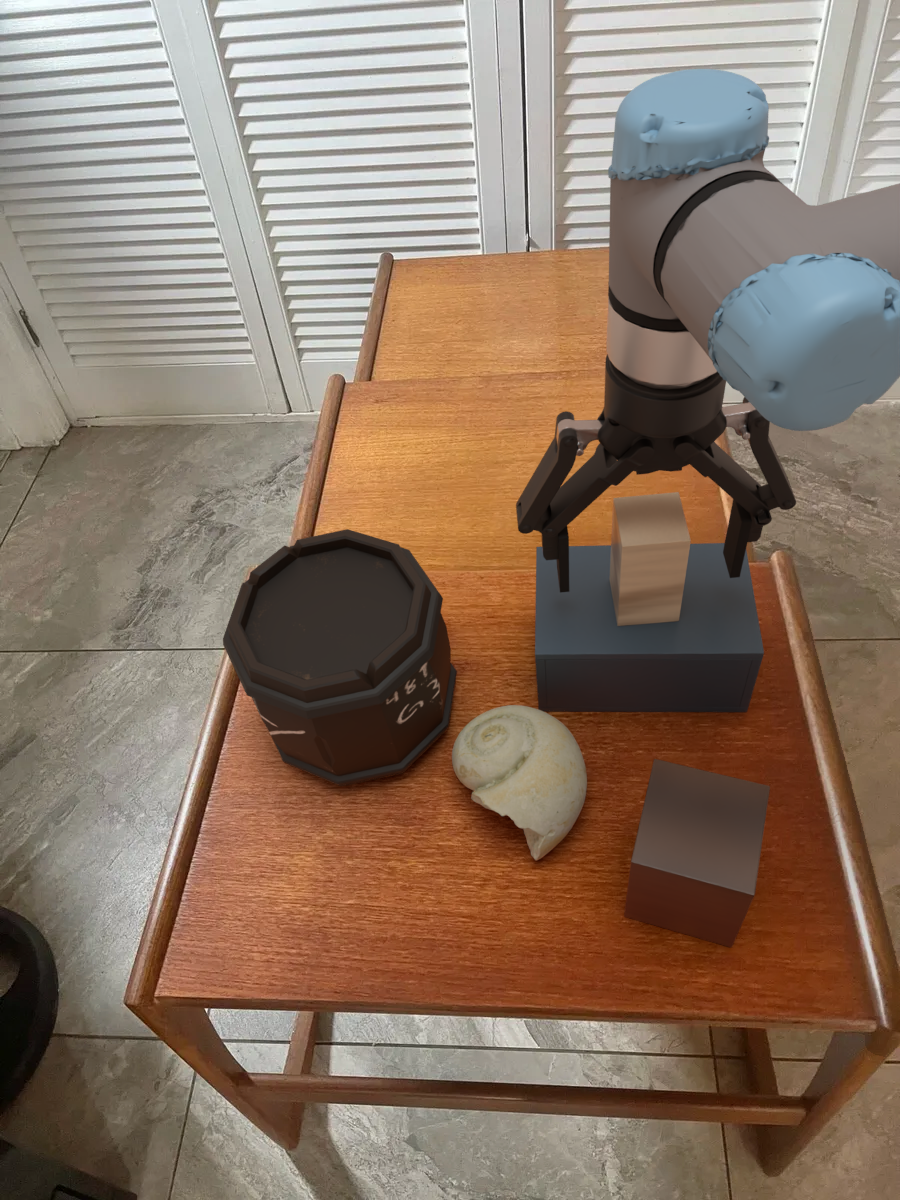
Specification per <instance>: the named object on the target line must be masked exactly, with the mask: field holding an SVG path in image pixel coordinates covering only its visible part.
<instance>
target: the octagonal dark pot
mask: <svg viewBox="0 0 900 1200" xmlns="http://www.w3.org/2000/svg"><path fill="white" fill-rule="evenodd" d="M443 601H444V597H443V596H442V595H441V593H440V591H439V590H438V588H437V587H436V586H435V584H434V583H433V581H432V580H431V579H430V577H429V576H428V574H427V573H426V572H425V570H424V568H422V566H421V565H420V563H419V562H418V560H417V559H416V558H415V556H414V554H413V553H412V552H411V550H410V549H407V548H404V547H401V546H400V544H399V543H395V542H393V541H392V542H391V541H389V540H385V539H382V538H378V537H375V536H372V535H369V534H365V533H362V532H359V531H355V530H352V529H348V528H346V529H341V530H336V531H331V532H328V533H323V534H319V535H313V536H308V537H305V538H303V537H302V538H299V539H296V541H295V543H294V544H293V545H290V546H288V545H285V544H284V545H283V546H282V547H281V548H279V549H278V550H277V551H275V552H274V553H273V554H271V555H270V556H269V557H268V558H266V560H264V561H262V562H261V563H260V564H258V566H256V567H255V568H254V569H253V570H251V571H250V572H249V575H248V579H247V580H246V581H244V582H242V583H241V585H240V588H239V591H238V594H237V595H236V600H235V602H234V605H233V608H232V611H231V614H230V616H229V621H228V623H227V626H226V628H225V631H224V633H223V634H224V635H223V637H222V645H223V647H224V650H225V652H226V654H227V656H228V658H229V660H230V662H231V665H232V667H233V669H234V672H235V673H236V676H237V677H238V679H239V682H240V684H241V686H242V688H243V690H244V692H245V695H246V696H248V697H250V698H251V699H252V701H253V704H254V705H255V708H256V709H257V712H258V714H259V717H260V719H261V720H262V722H263V724H264V726H265V727H266V729H267V731H268V733H269V735H270V737H271V740H272V741H273V743H274V746H275V747H276V749H277V751H278V754H279V756H280V758H281V760H282V762H283V763H285V764H286V765H288V766H291V767H293V768H296V769H298V770H301V771H303V772H306V773H308V774H310V775H313V776H315V777H318V778H319V779H322V780H325V781H328V782H330V783H332V784H335V785H337V786H340V787H343V786H350V785H356V784H359V783H365V782H368V781H369V782H370V781H373V780H374V781H375V780H378V779H383V778H388V777H392V776H397V775H401V774H403V773H405V772H406V771H407V770H408V769H409V768H410V767H411V766H412V765H413V764H414V763H415V762H417V761H418V759H420V757H421V756H422V755H423V754H424V753H426V751H427V750H428V749H429V748H430V747H431V746H433V744H435V742H437V740H439V739H440V737H441V736H443V734H444V733H446V732H447V731H448V729H449V726H450V719H451V714H452V707H453V701H454V694H455V688H456V680H457V674H458V670H457V669H456V667H455V666H454V665H453V663H452V656H451V655H452V654H451V653H452V651H451V650H452V649H451V645H450V639H449V632H448V629H447V624H446V622H445V620H444V617H443V614H442V612H441V611H442V606H443Z"/></svg>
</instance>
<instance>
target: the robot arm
mask: <svg viewBox="0 0 900 1200" xmlns="http://www.w3.org/2000/svg"><path fill="white" fill-rule="evenodd" d="M769 109H770V108H769V102H768V101H767V96H766V94H765V92H764V90H763V88H761V87H760V86H759V85H758V83H756V82H755V81H753V80H752V79H750V78H749V77H747V76H744V75H742V74H738V73H736V72H732V71H728V70H723V69H722V70H721V69H716V68H715V69H713V68H691V69H690V68H689V69H681V70H676V71H671V72H668V73H665V74H661V75H656V76H654V77H651V78H650V79H647V80H645V81H643V82H642V83H640V84H638V85H637V86H635V87H633V89H632V90H630V91H629V92H628V93H627V94H626V95H625V96H624V98H623V99H622V100H621V101H620V104H619V106H618V108H617V111H616V113H615V120H614V131H613V132H614V133H613V143H612V153H611V163H610V166H609V167H608V169H607V170H608V171H607V176H608V177H607V178H608V179H610V182H609V183H610V184H609V194H610V195H609V236H608V237H609V238H608V239H609V240H608V241H609V242H608V243H609V244H608V284H607V285H608V287H607V288H608V290H607V296H608V297H607V317H606V318H607V319H606V321H607V322H606V338H605V339H606V341H605V346H606V347H605V348H606V350H605V351H606V357H605V363H604V365H605V367H604V368H605V369H604V373H605V374H604V398H603V399H604V400H603V408H602V411H601V412H600V414H599V416H598V417H597V419H575V415H574V413H573V412H571V411H567V410H566V411H565V410H564V411H562V412H560V413H558V414H557V416H556V419H555V429H554V437H553V439H552V441H551V442H550V443H549V446H548V448H547V449H546V451H545V453H544V455H543V456H542V458H541V459H540V461H539V462H538V465H537V467H536V468H535V470H534V471H533V473H532V475H531V477H530V479H528V482H527V484H526V486H525V488H524V489H523V491H522V493H521V494H520V496H519V497H518V500H517V501H516V503H515V511H516V521H517V530H518V532H519V533H521V534H525V535H527V534H531V533H533V531H536V532H539V533H540V534H541V547H542V548H543V557H544V558H545V559H546V560H557V572H558V580H559V588H560V592H569V546H570V536H569V530H568V526H569V525H570V523H572V522H573V521H574V520H575V519H576V518H577V517H578V516H579V515H580V514H581V513H582V512H584V511H585V510H586V509H587V508H588V507H589V506H590V505H591V504H592V503H593V502H595V501H596V500H597V499H598V498H599V497H600V496H601V495H602V494H603V493H604V492H606V491H607V490H608V489H610V487H611V486H614V487H616V486H618V485H620V484H621V483H622V482H623V481H624V480H625V479H626V478H627V477H629V476H630V475H631V474H632V473H633V472H635V473H636V475H637V476H638V475H639V476H640V475H648V474H652V473H656V472H661V471H662V472H680V471H683V468H684V467H687V466H689V465H690V466H691V467H692V468H693V469H694V470H695V471H697V472H698V473H699V474H700V475H701V476H702V477H704V478H707V477H708V478H709V479H710V480H711V481H712V482H713V483H715V484H716V485H717V486H718V487H719V488H720V489H721V490H723V491H724V492H725V493H726V494H727V495H728V496H729V497H730V498H732V504H731V509H730V514H729V517H728V524H727V529H726V535H725V539H724V543H725V544H724V549H723V554H724V558H725V562H726V565H727V569H728V573H729V576H730V578H736V577H740V573H741V569H742V565H743V560H744V556H745V551H746V550H747V546H748V543H755V542H758V541H759V539H760V538H761V536H762V533H763V532H762V531H763V528H764V527H765V526H767V525H769V524H770V523H771V522H772V521H773V517H772V514H771V511H772V510H774V509H777V508H779V509H780V510H783V511H788V510H791V509H793V508H794V507H795V506H796V504H797V500H796V497H795V494H794V491H793V489H792V486H791V483H790V479H789V477H788V475H787V472H786V471H785V469H784V466H783V464H782V462H781V460H780V457H779V455H778V453H777V451H776V449H775V447H774V445H773V441H772V439H771V438H770V423H771V424H772V425H774V426H777V427H778V428H782V429H785V430H790V431H794V432H812V431H818V430H822V429H828V428H830V427H834V426H836V425H839V424H841V423H845V422H846V421H847V420H849V419H850V418H851V416H852V415H853V414H854V412H856V410H858V409H859V408H860V407H861V406H863V405H873V404H874V403H875V402H877V401H878V400H879V399H880V398H882V397H883V396H884V395H885V394H886V393H887V392H888V391H889V390H890V389H891V388H892V387H893V386H894V384H895V383H896V382H897V381H898V380H899V378H900V182H899V183H896V184H892V185H888V186H884V187H881V188H877V189H874V190H873V189H872V190H870V191H865V192H863V193H862V192H861V193H858V194H855V195H851V196H846V197H843V198H841V199H836V200H833V201H829V202H826V203H822V204H817V205H814V204H813V205H812V204H807V203H806V202H805V201H804V200H803V199H801V198H800V197H799V196H798V195H797V194H796V193H794V192H793V191H792V190H791V189H790V188H789V187H787V186H786V185H785V184H784V183H783V182H782V181H780V179H778V178H777V177H776V175H774V174H773V173H772V172H771V171H770V170H768V169H767V168H766V167H765V163H764V155H765V152H766V148H767V147H769V143H770V136H769V133H768V132H769V111H770V110H769ZM727 384H728V385H729V386H730V387H731V388H732V389H733V390H735V391H737V392H739V394H741V395H742V396H743V399H742V403H738V404H731V405H726V406H723V405H724V399H725V391H726V387H727ZM726 428H732V429H733V430H734V432H735V434H736V435H737V436H740V437H741V438H742V440H746V441H747V440H748V444H749V447H750V449H751V452H752V454H753V456H754V459H755V461H756V462H757V464H758V467H759V469H760V471H761V473H762V475H763V477H764V479H765V481H766V483H767V484H764V485H761V484H760V483H759V482H758V481H757V480H756V479H755V478H754V477H752V475H750V474H749V473H748V472H747V471H746V470H745V469H744V468H743V467H742V466H741V465H740V464H739V463H738V462H737V461H736V460H734V458H732V457H731V456H730V455H729V454H728V452H727V451H725V450H723V448H721V446H719V444H717V443H716V442H715V441H717V440H718V438H719V437H720V436H722V435H723V433H724V432H725V431H726ZM594 441H598V442H599V443H598V445H597V446H596V448H595V451H594V453H593V455H592V456H591V457H590V458H589V459H588V460H586V462H584V463H583V465H581V466H580V468H578V469H577V470H576V471H575V472H574V473H573V474H572V475H571V476H570V477H569V478H568V479H567V477H568V475H569V474H570V472H571V471H572V469H573V466H574V465H575V462H576V458H577V457H582V456H583V455H584V454H585V450H586V449H587V447H588V445H589V444H590V443H592V442H594ZM566 479H567V480H566ZM565 480H566V481H565Z"/></svg>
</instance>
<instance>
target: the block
mask: <svg viewBox="0 0 900 1200" xmlns="http://www.w3.org/2000/svg"><path fill="white" fill-rule="evenodd" d="M684 511H685V510H684V507H683V502H682V498H681V495H680V492H678V491H674V492H664V493H653V494H642V495H631V496H620V497H613V498H612V518H611V536H610V537H611V539H610V540H611V541H610V545H611V560H610V585H611V591H612V597H613V603H614V609H615V615H616V621H617V626H625V625H637V624H650V623H662V622H674V621H679V616H680V610H681V603H682V596H683V590H684V583H685V576H686V569H687V563H688V556H689V549H690V544H692V542H691V541H692V540H691V539H692V538H691V535H690V532H689V527H688V522H687V519H686V515H685V512H684Z"/></svg>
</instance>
